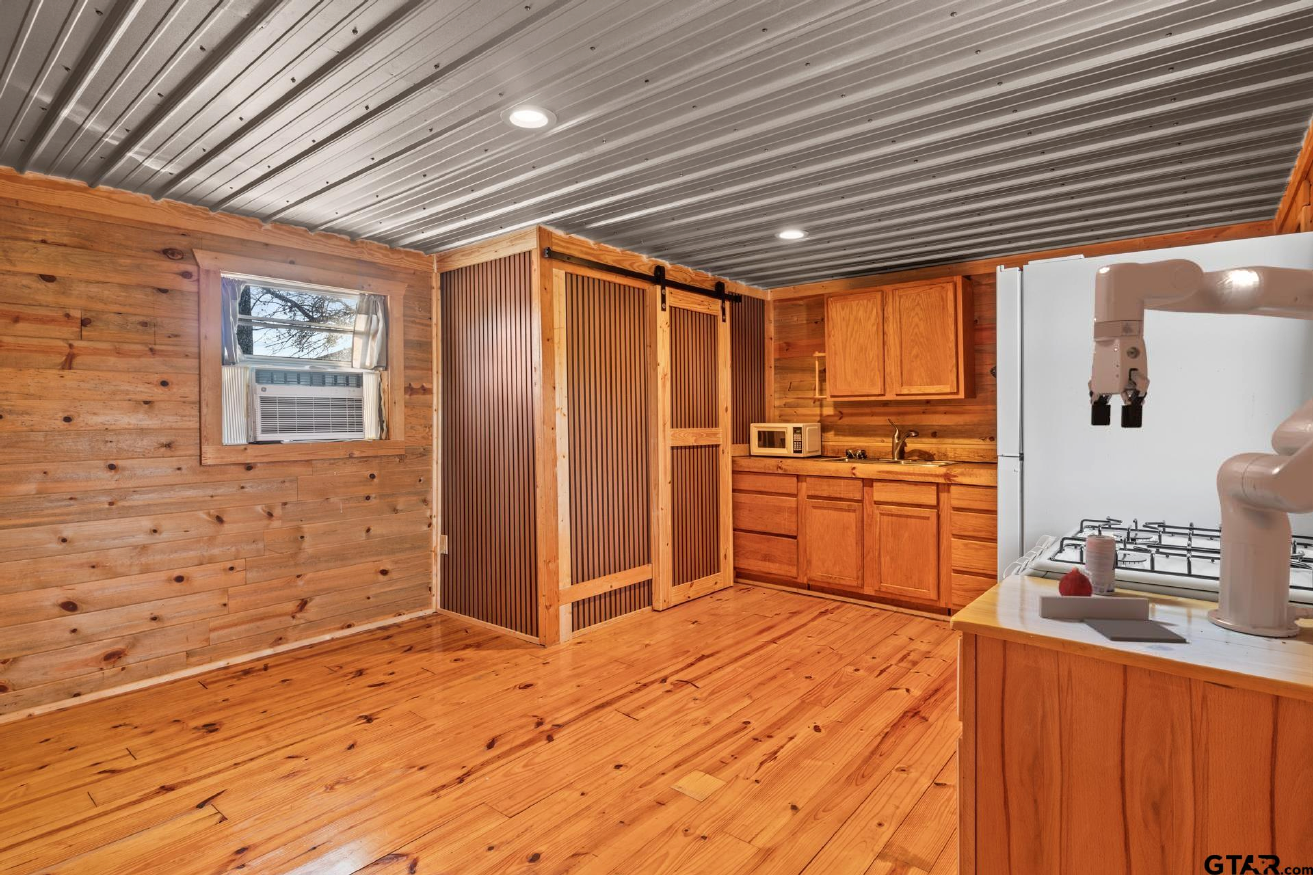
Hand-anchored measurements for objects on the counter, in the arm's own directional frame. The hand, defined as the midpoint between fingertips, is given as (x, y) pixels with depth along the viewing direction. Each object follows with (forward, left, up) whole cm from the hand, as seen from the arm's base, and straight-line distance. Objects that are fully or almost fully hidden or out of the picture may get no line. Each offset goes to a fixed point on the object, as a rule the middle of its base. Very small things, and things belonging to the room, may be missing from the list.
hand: (1115, 426), depth 123 cm
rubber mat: (-1, +5, -37) cm, 37 cm away
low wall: (+2, -2, -37) cm, 37 cm away
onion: (+2, -9, -37) cm, 38 cm away
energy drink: (-8, -20, -37) cm, 43 cm away
